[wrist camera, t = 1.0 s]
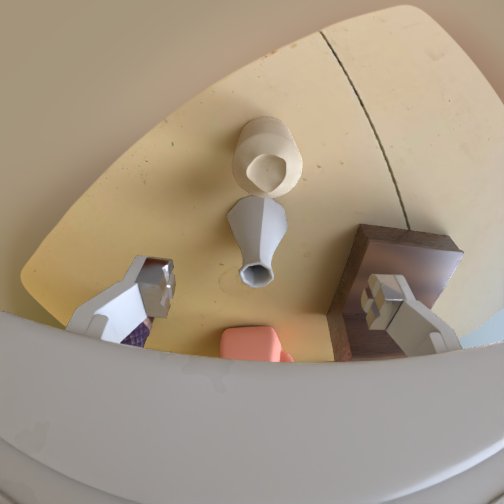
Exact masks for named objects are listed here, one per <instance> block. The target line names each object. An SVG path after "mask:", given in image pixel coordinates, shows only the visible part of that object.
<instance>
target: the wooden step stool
mask: <svg viewBox="0 0 504 504" xmlns="http://www.w3.org/2000/svg"><path fill="white" fill-rule="evenodd" d="M463 254H464V252H463V251H462V250H459V248H458V247H457V246H456V244H455V243H454V242H453V241H452V239H451V238H450V237H449V236H445V235H439V234H432V233H426V232H419V231H412V230H405V229H398V228H390V227H383V226H375V225H367V224H360V225H359V228H358V231H357V235H356V238H355V241H354V244H353V247H352V250H351V253H350V255H349V258H348V261H347V264H346V267H345V270H344V272H343V275H342V278H341V281H340V283H339V286H338V289H337V291H336V294H335V296H334V299H333V301H332V304H331V306H330V309H329V311H328V314H327V320H328V326H329V331H330V336H331V342H332V347H333V353H334V359H335V362H350V361H369V360H383V359H395V358H405V357H408V356H407V355H406V354H405V352H404V351H403V350H402V349H401V348H400V347H399V345H398V344H397V343H396V342H395V341H394V340H393V338H392V337H391V336H390V335H389V334H388V333H387V331H386V330H369V328H368V324H367V321H366V316H367V313H366V312H365V311H364V310H363V308H362V305H361V297H362V293H363V290H364V288H366V287H367V286H368V285H369V283H368V279H369V277H370V275H371V274H387V275H392V274H394V275H403V276H404V278H405V280H406V282H407V283H408V285H409V287H410V289H411V291H412V293H413V295H414V297H415V299H416V301H420V302H421V303H422V304H424V305H425V306H426V307H427V308H428V309H430V310H431V308H432V307H433V305H434V304H435V302H436V300H437V299H438V297H439V296H440V294H441V293H442V291H443V289H444V288H445V286H446V284H447V283H448V281H449V279H450V277H451V276H452V274H453V272H454V270H455V269H456V267H457V265H458V263H459V261H460V260H461V258H462V256H463Z"/></svg>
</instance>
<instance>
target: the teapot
mask: <svg viewBox="0 0 504 504" xmlns="http://www.w3.org/2000/svg"><path fill="white" fill-rule="evenodd" d="M220 358H225V359H238V360H252V361H272V362H294V360H293V358H292V356H291V355H290V354H289V353H287V352H286V351H283V350H281V345H280V341H279V339H278V336H277V334H276V332H275V330H274V329H273V328H272V327H269V326H258V327H240V328H229V329H226V330H225V331H224V332H223V334H222V336H221V340H220Z"/></svg>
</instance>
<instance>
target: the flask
mask: <svg viewBox="0 0 504 504" xmlns="http://www.w3.org/2000/svg"><path fill="white" fill-rule="evenodd" d="M226 216H227V219H228V222H229V225H230V227H231V230H232V233H233V236H234V238H235V240H236V242H237V243H238V245H239V247H240V250H241V253H242V258H243V263H242V267H241V268H240V269H239V271H238V272H239V275H240V278H241V280H242V282H243V283H245V284H246V285H248V286H250V287H251V288H257V287H263V286H266V285H267V284H268V283H270V282H271V281H272V280H273V279H274V275H273V271H272V268H271V261H272V257H273V253H274V251H275V250H276V248H277V246H278V244H279V242H280V241H281V239H282V237H283V236H284V234H285V233H286V231H287V229H288V225H287V220H286V216H285V211H284V208H283V207H282V206H281V205H280V204H278V203H277V202H276V201H274V200H273V199H272V198H261V197H256V196H251V197H247V198H242V199H240V200H239V201H238V203H237V204H236V205H235V206H234V207H233V208H232V209H231V211H230V212H229V213H228V214H227V215H226Z"/></svg>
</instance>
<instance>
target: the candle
mask: <svg viewBox="0 0 504 504" xmlns="http://www.w3.org/2000/svg"><path fill="white" fill-rule="evenodd" d="M232 170H233V175H234V177H235V179H236V181H237V183H238V184H239V186H240V187H241V188H242V189H243V190H245V191H246V192H248V193H249V194H251V195H254V196H256V197H261V198H274V197H278V196H281V195H283V194H285V193H287V192H289V191H290V190H291V189H292V188H293V187H294V186H295V185H296V184H297V182H298V181H299V179H300V176H301V174H302V158H301V155H300V153H299V150H298V148H297V146H296V144H295V142H294V139H293V137H292V135H291V133H290V131H289V130H288V128H287V127H286V125H285V124H284V123H282V122H281V121H279V120H278V119H275V118H272V117H259V118H256V119H253V120H251V121H250V122H249V123H247V124H246V125H245V127H244V128H243V130H242V131H241V134H240V137H239V140H238V143H237V146H236V150H235V153H234V157H233V161H232Z"/></svg>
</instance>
